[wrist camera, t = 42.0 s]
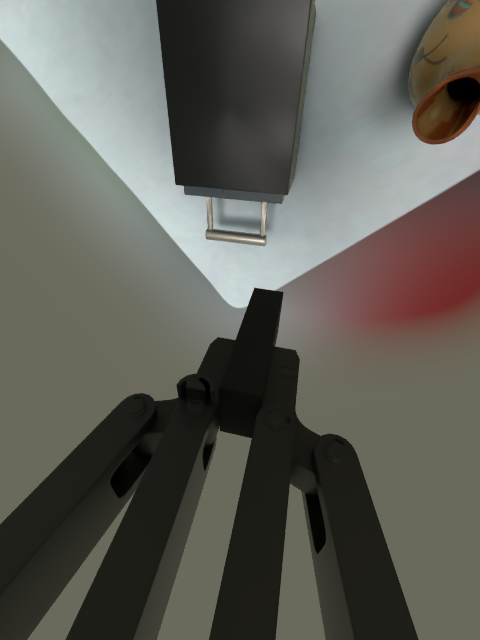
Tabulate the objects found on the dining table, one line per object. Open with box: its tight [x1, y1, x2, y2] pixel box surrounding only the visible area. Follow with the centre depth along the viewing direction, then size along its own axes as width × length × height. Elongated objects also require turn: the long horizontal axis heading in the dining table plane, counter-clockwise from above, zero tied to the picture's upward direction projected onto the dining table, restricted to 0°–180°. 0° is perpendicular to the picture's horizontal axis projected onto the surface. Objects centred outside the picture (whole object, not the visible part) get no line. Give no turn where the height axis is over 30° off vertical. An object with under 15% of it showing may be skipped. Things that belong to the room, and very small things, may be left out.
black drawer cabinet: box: [156, 0, 316, 195], centre depth 30 cm, size 15×13×9 cm
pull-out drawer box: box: [184, 186, 285, 246], centre depth 33 cm, size 20×11×7 cm, turn 179°
